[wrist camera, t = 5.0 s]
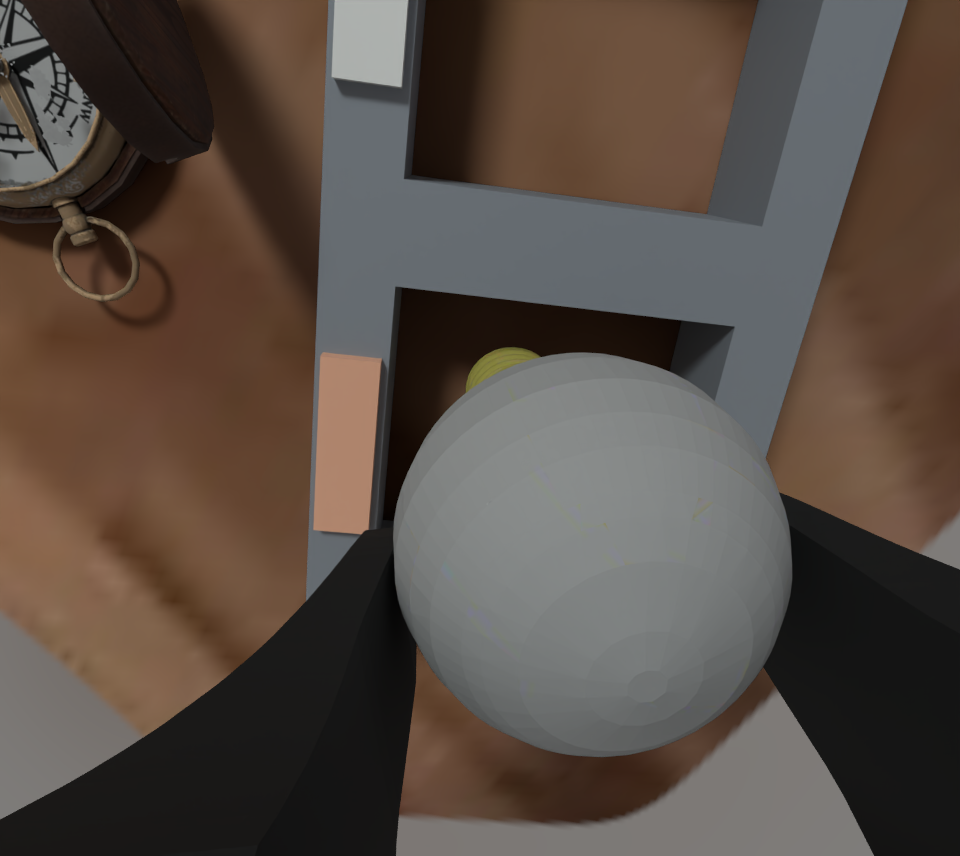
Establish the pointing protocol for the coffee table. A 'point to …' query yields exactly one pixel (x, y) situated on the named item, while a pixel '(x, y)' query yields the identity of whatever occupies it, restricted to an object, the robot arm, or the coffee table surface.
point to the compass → (93, 110)
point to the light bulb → (591, 552)
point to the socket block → (577, 233)
